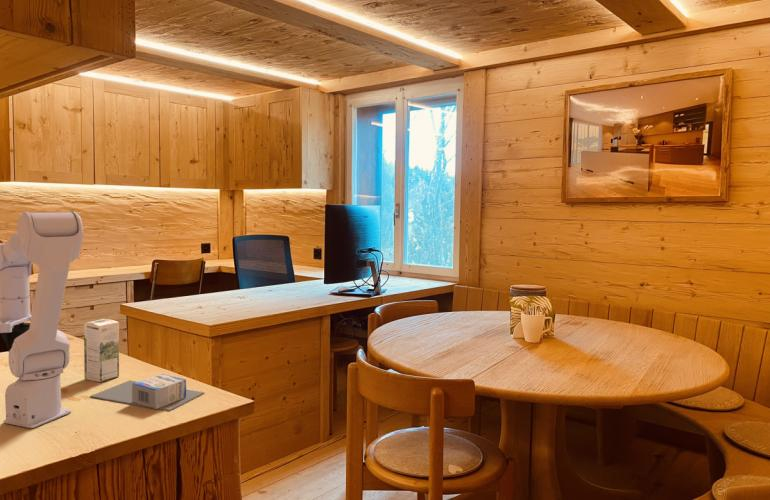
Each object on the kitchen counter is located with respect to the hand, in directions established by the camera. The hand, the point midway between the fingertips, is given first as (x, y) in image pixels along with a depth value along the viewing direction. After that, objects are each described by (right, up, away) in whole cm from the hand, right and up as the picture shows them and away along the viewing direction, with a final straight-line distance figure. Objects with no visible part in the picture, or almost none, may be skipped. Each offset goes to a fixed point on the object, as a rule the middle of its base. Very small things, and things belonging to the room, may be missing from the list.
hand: (16, 357), depth 129 cm
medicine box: (+29, -8, -3) cm, 31 cm away
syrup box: (+11, -8, +16) cm, 21 cm away
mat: (+27, -10, +5) cm, 29 cm away
